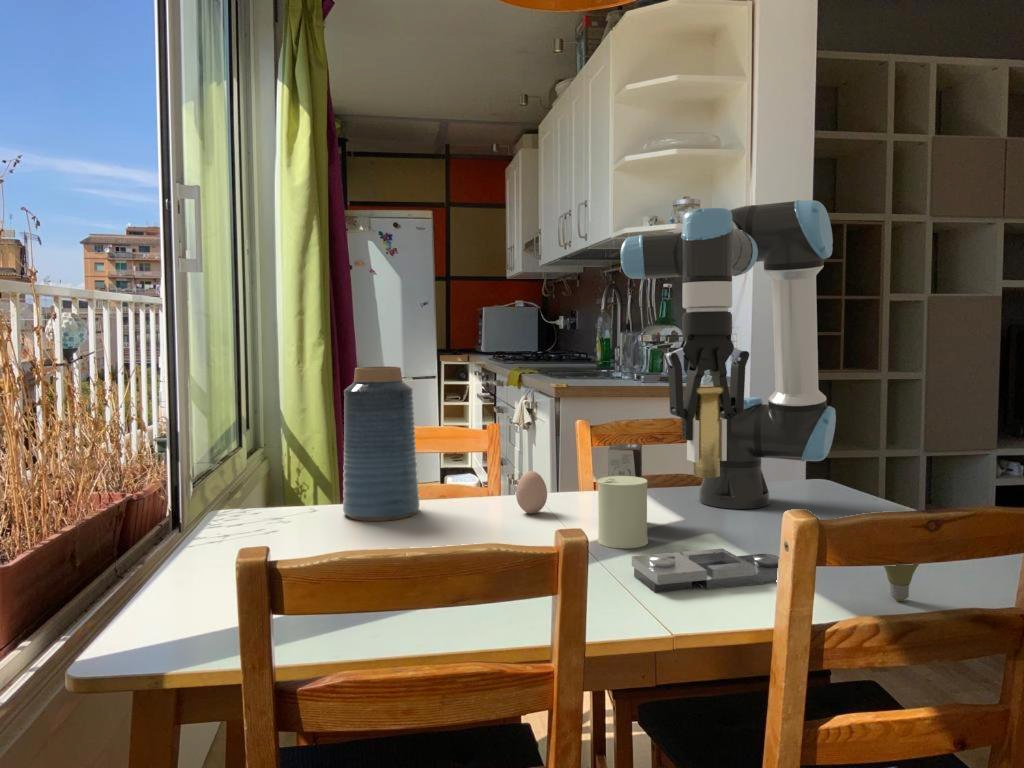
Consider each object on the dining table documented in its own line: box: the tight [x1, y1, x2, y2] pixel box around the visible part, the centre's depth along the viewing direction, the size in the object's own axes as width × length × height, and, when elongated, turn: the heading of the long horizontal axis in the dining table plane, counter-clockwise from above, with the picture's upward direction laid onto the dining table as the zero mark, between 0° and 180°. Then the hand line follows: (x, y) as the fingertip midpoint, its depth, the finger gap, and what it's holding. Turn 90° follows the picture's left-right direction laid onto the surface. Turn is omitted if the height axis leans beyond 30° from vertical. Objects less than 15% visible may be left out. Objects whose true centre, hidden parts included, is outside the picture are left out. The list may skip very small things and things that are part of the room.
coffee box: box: [607, 442, 643, 478], centre depth 162 cm, size 9×6×16 cm
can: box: [597, 476, 649, 550], centre depth 150 cm, size 9×9×12 cm
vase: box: [342, 365, 420, 522], centre depth 175 cm, size 16×16×32 cm
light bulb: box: [883, 563, 920, 602], centre depth 117 cm, size 6×6×10 cm
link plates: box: [631, 548, 780, 593], centre depth 128 cm, size 24×10×4 cm, turn 104°
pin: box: [693, 384, 724, 479], centre depth 127 cm, size 5×5×14 cm
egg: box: [515, 470, 548, 515], centre depth 174 cm, size 7×7×9 cm
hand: (706, 459), depth 128 cm, fingers closed on pin, 4 cm apart
